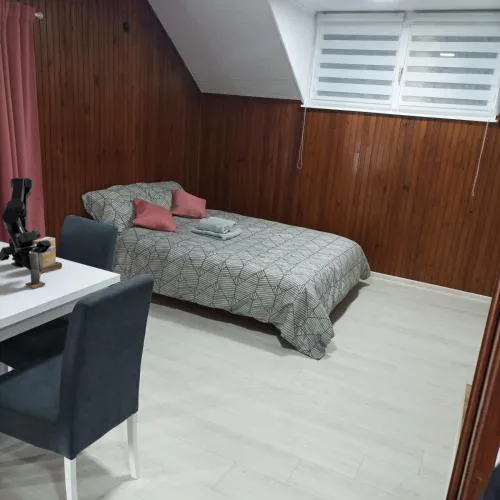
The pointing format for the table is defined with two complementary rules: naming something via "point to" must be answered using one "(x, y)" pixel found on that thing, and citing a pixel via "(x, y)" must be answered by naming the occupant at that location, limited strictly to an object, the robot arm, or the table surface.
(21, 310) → the table surface
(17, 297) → the table surface
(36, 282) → the grey knob lever
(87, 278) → the table surface
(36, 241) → the supplement box
